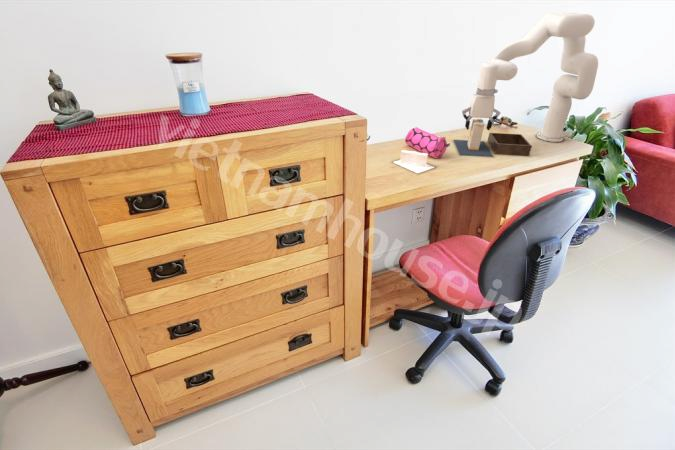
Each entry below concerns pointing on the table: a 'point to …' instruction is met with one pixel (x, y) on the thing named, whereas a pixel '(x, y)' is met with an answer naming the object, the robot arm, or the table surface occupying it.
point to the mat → (465, 150)
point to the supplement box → (475, 134)
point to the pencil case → (426, 142)
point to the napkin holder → (414, 161)
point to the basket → (509, 144)
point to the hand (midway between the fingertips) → (477, 129)
